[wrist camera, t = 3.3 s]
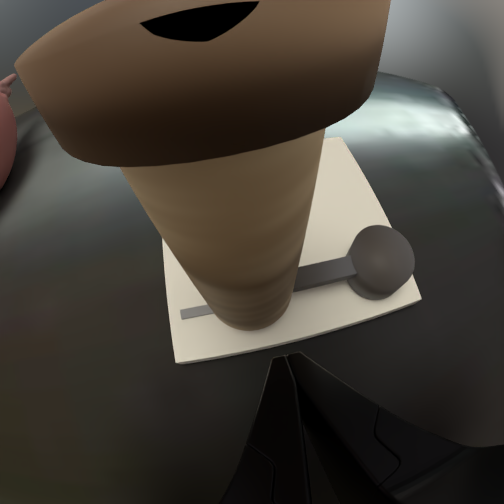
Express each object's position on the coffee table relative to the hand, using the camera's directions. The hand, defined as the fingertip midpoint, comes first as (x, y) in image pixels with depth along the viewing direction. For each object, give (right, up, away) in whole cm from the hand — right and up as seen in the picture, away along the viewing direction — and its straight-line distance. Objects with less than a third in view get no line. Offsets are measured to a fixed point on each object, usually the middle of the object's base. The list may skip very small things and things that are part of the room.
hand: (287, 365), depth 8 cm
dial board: (+1, +5, +10) cm, 11 cm away
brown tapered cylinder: (+2, +2, +7) cm, 7 cm away
